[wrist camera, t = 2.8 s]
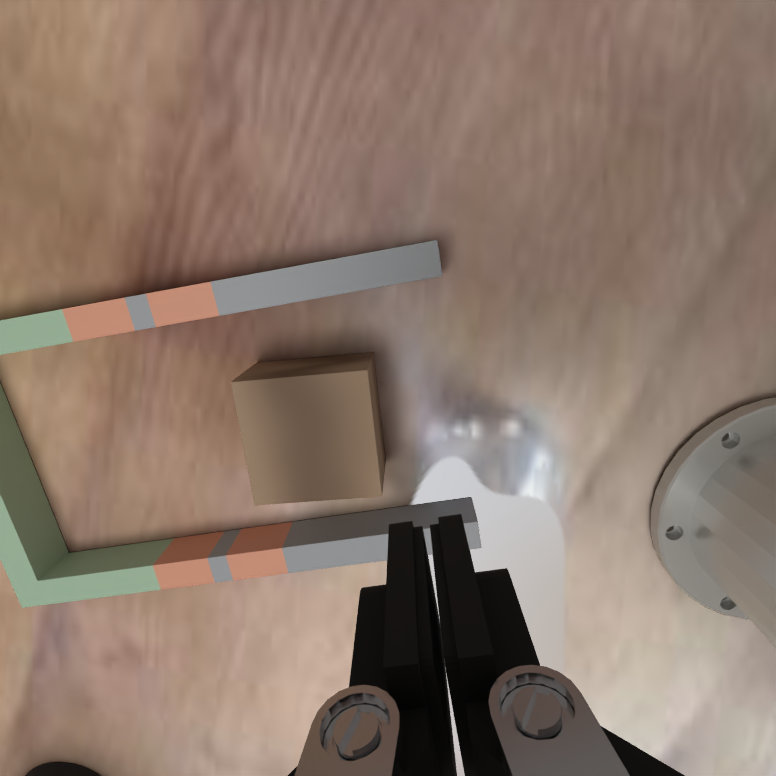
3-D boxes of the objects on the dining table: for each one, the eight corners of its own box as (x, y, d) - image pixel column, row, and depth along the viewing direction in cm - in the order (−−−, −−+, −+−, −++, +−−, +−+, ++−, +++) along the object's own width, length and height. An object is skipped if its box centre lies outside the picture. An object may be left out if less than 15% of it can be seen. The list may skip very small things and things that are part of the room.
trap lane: (434, 241, 23) (437, 239, 20) (474, 521, 27) (481, 548, 24) (-50, 330, 25) (-99, 338, 22) (54, 577, 29) (22, 607, 26)
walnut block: (373, 351, 25) (367, 370, 21) (385, 460, 26) (381, 496, 22) (258, 361, 25) (230, 382, 21) (276, 468, 27) (254, 505, 23)
